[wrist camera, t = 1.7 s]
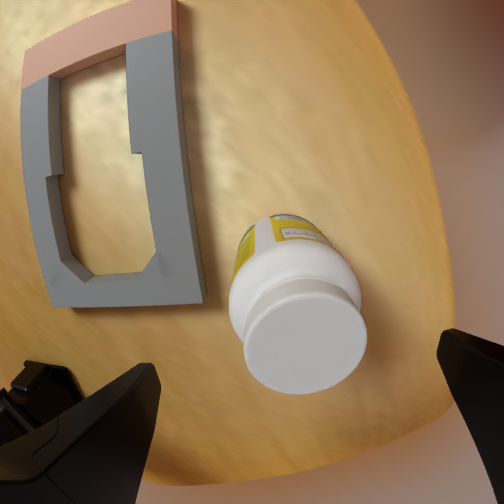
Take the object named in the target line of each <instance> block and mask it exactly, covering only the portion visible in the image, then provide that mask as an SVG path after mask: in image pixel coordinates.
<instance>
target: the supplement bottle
mask: <svg viewBox="0 0 504 504" xmlns="http://www.w3.org/2000/svg"><path fill="white" fill-rule="evenodd" d="M360 309H361V291H360V286H359V282H358V280H357V277H356V275H355V273H354V271H353V270H352V268H351V266H350V265H349V264H348V262H347V261H346V260H345V259H344V257H343V256H342V255H341V254H340V253H339V252H338V251H337V250H336V249H335V247H334V246H333V245H332V244H331V243H330V242H329V241H328V240H327V239H326V237H325V236H324V235H323V234H322V233H321V232H320V231H319V230H318V229H317V228H316V227H315V226H314V225H313V224H312V223H310V222H309V221H307V220H306V219H304V218H302V217H299V216H296V215H293V214H284V213H281V214H274V215H270V216H267V217H264V218H262V219H260V220H259V221H257V222H256V223H254V224H253V225H252V226H251V227H250V228H249V229H248V230H247V232H246V233H245V234H244V236H243V238H242V240H241V242H240V245H239V248H238V253H237V258H236V263H235V268H234V273H233V278H232V283H231V288H230V294H229V315H230V320H231V323H232V326H233V328H234V330H235V332H236V334H237V336H238V337H239V339H240V340H241V341H242V342H243V344H244V357H245V361H246V364H247V366H248V369H249V370H250V372H251V373H252V375H253V376H254V377H255V378H256V379H257V380H258V381H259V382H260V383H261V384H263V385H264V386H266V387H268V388H270V389H272V390H274V391H277V392H281V393H285V394H292V395H304V394H312V393H316V392H320V391H323V390H326V389H328V388H331V387H333V386H335V385H336V384H338V383H340V382H341V381H342V380H344V379H345V378H346V377H348V376H349V375H350V374H351V373H352V372H353V371H354V370H355V368H356V367H357V366H358V364H359V363H360V361H361V359H362V357H363V355H364V353H365V350H366V346H367V329H366V324H365V321H364V319H363V317H362V315H361V314H360Z"/></svg>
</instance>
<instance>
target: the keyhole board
mask: <svg viewBox="0 0 504 504" xmlns="http://www.w3.org/2000/svg"><path fill="white" fill-rule="evenodd" d="M123 54H126V80H127V103H128V119H129V132H130V144H131V154H142V158H143V167H144V175H145V183H146V191H147V198H148V205H149V211H150V218H151V224H152V230H153V235H154V241H155V247H156V253H155V254H154V256H153V257H152V258H151V260H150V261H149V263H148V264H147V266H146V267H145V269H144V270H143V272H138V273H125V274H112V275H99V276H95V275H94V274H93V273H91V272H90V271H89V270H88V269H87V268H86V267H85V266H83V265H82V264H81V263H80V262H79V261H78V260H77V259H76V258H75V257H74V256H72V253H71V249H70V245H69V240H68V235H67V230H66V225H65V220H64V214H63V208H62V202H61V196H60V189H59V181H58V175H62V174H64V165H63V155H62V142H61V123H60V79H61V78H64V77H66V76H68V75H70V74H73V73H75V72H77V71H80V70H82V69H84V68H87V67H89V66H92V65H94V64H97V63H100V62H102V61H105V60H108V59H111V58H114V57H117V56H120V55H123ZM21 150H22V164H23V175H24V184H25V192H26V199H27V205H28V212H29V217H30V223H31V228H32V233H33V238H34V242H35V247H36V251H37V255H38V259H39V263H40V267H41V270H42V274H43V278H44V281H45V284H46V288H47V291H48V294H49V297H50V300H51V303H52V306H53V307H128V306H156V305H177V304H196V303H203V301H204V299H205V296H206V294H207V291H206V285H205V279H204V273H203V267H202V261H201V254H200V248H199V241H198V234H197V228H196V220H195V213H194V206H193V198H192V190H191V182H190V174H189V166H188V157H187V147H186V138H185V128H184V117H183V106H182V94H181V80H180V65H179V48H178V27H177V0H133V1H129V2H127V3H124V4H121V5H118V6H115V7H113V8H110V9H107V10H105V11H102V12H100V13H97V14H95V15H93V16H90V17H88V18H86V19H84V20H81V21H79V22H77V23H75V24H73V25H71V26H69V27H67V28H65V29H63V30H61V31H59V32H57V33H55V34H53V35H51V36H50V37H48V38H46V39H44V40H43V41H41V42H39V43H37V44H36V45H34V46H32V47H31V48H29V49H28V50H26V51H25V55H24V64H23V74H22V87H21Z"/></svg>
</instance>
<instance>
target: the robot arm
mask: <svg viewBox="0 0 504 504" xmlns="http://www.w3.org/2000/svg"><path fill="white" fill-rule="evenodd" d="M437 359H438V362H439V364H440V366H441V369H442V371H443V374H444V376H445V379H446V381H447V384H448V386H449V389H450V391H451V394H452V396H453V398H454V400H455V402H456V404H457V406H458V408H459V410H460V412H461V414H462V416H463V418H464V420H465V422H466V425H467V427H468V429H469V431H470V433H471V436H472V438H473V440H474V442H475V445H476V446H477V449H478V452H479V454H480V456H481V459H482V461H483V463H484V466H485V469H486V471H487V474H488V477H489V479H490V482H491V485H492V488H493V489H494V490H493V491H494V494H495V497H496V500H497V503H498V504H504V346H502V345H500V344H497V343H494V342H491V341H488V340H485V339H483V338H480V337H477V336H474V335H471V334H468V333H466V332H463V331H460V330H457V329H454V328H452V329H448V330H444V331H443V332H442V333H441V336H440V341H439V345H438V349H437ZM24 366H25V368H24V369H23V370H22V371H21V373H20V374H19V375H18V376H17V377H16V378H15V379H14V380H13V381H12V382H11V387H12V388H11V389H10V391H9V392H8V393H7V391H6V389H5V388H4V387H3V388H2V389H1V390H0V504H135V502H136V498H137V494H138V490H139V486H140V482H141V478H142V475H143V471H144V467H145V463H146V460H147V456H148V452H149V449H150V445H151V441H152V438H153V434H154V430H155V425H156V418H157V412H158V406H159V400H160V394H161V383H160V380H159V378H158V375H157V372H156V369H155V367H154V365H153V364H152V363H139V364H137V365H136V366H134V367H133V368H131V369H130V370H128V371H127V372H125V373H124V374H122V375H121V376H119V377H118V378H116V379H115V380H113V381H112V382H110V383H109V384H107V385H106V386H104V387H103V388H101V389H100V390H98V391H97V392H95V393H93V394H92V395H90V396H89V397H87V398H86V399H84V400H83V399H82V397H81V395H80V393H79V391H78V389H77V387H76V385H75V383H74V382H73V380H72V378H71V376H70V373H69V371H68V370H67V369H66V368H65V367H63V366H57V365H51V364H45V363H39V362H33V361H28V360H26V361H25V362H24Z"/></svg>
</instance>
